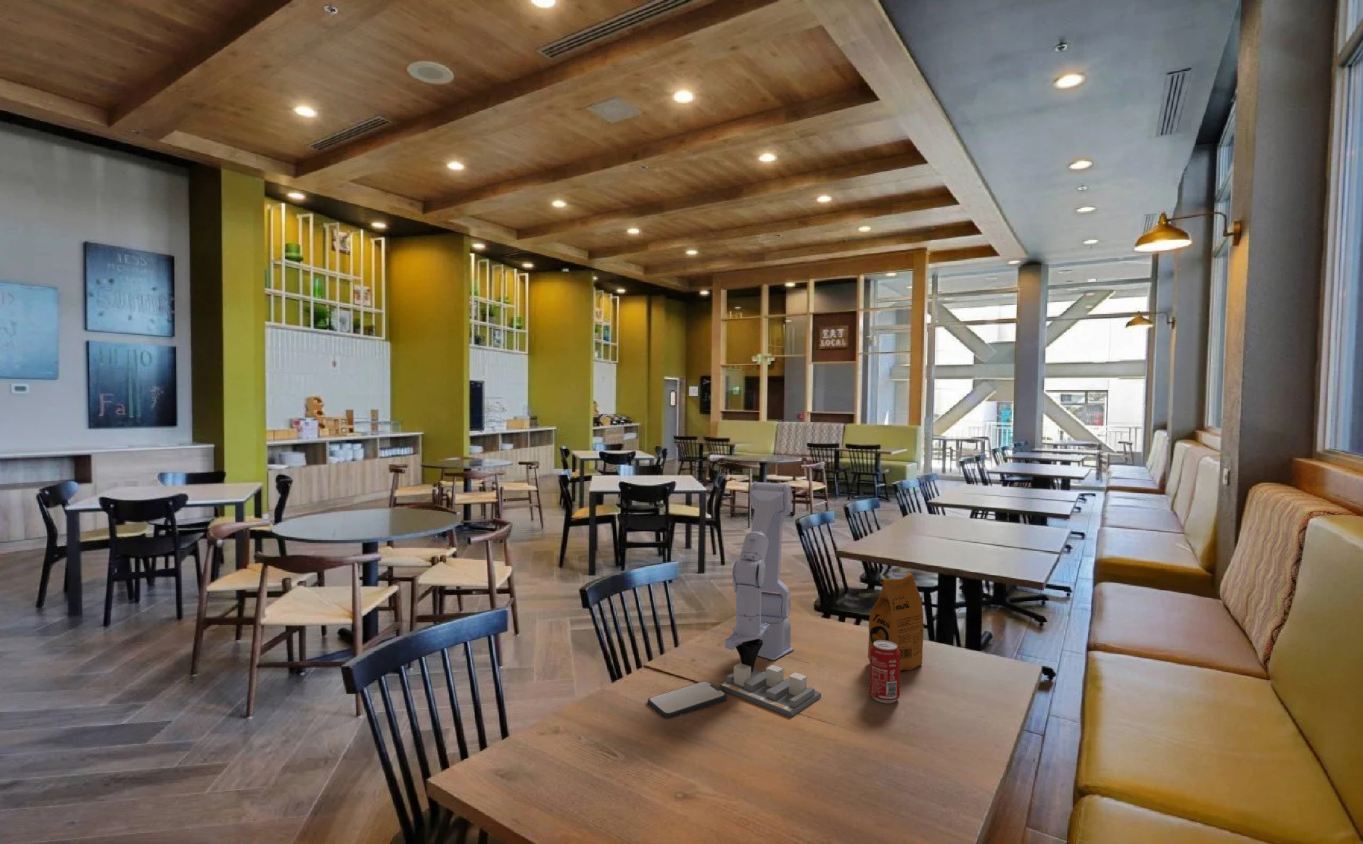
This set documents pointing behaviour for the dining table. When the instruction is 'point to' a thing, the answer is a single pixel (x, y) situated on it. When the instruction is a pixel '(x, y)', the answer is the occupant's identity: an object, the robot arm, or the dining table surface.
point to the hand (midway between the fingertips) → (748, 671)
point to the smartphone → (687, 699)
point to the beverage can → (885, 671)
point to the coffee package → (899, 620)
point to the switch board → (763, 694)
